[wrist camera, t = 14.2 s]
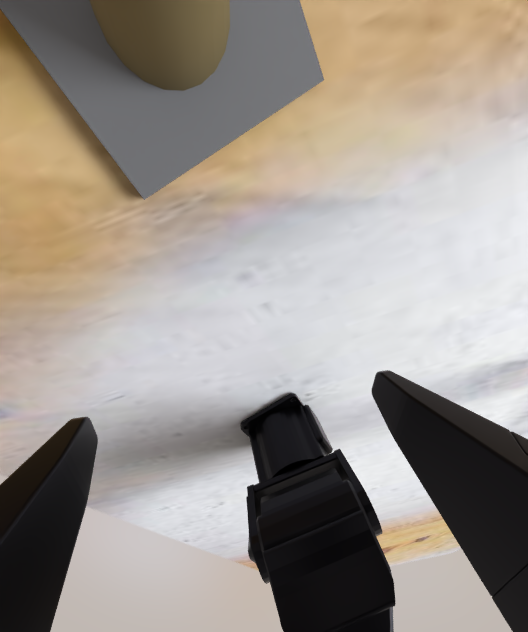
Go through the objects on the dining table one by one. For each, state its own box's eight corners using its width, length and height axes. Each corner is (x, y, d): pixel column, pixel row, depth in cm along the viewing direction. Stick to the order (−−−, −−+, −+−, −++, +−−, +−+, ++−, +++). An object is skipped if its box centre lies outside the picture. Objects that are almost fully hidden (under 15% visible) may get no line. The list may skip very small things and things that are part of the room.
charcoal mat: (146, 197, 17) (144, 199, 16) (-73, -97, 10) (-97, -121, 10) (317, 84, 16) (324, 79, 15) (189, -307, 10) (189, -352, 9)
